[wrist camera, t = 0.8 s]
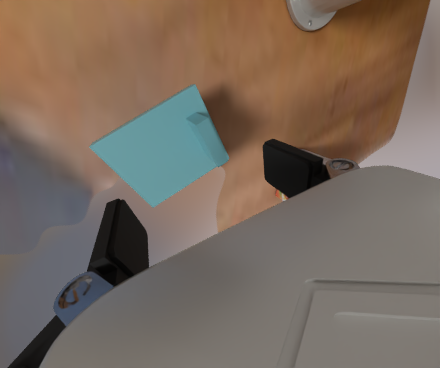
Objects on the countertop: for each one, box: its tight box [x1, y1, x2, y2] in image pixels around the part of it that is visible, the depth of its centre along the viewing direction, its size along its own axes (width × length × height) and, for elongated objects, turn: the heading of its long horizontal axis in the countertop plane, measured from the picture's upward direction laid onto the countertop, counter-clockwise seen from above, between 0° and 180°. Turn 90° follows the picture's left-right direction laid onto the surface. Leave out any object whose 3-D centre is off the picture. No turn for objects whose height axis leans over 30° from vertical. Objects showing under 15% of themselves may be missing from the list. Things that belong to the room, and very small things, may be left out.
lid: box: [89, 84, 229, 207], centre depth 22 cm, size 15×12×7 cm
